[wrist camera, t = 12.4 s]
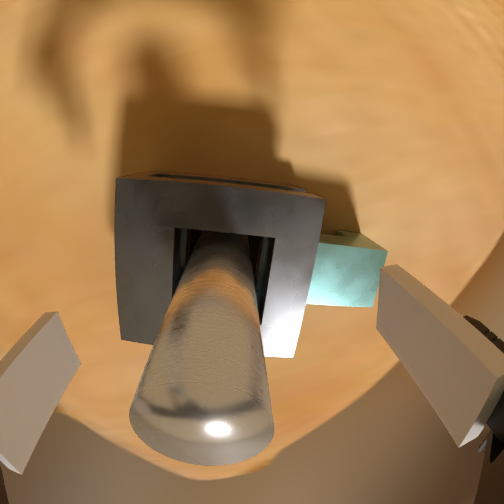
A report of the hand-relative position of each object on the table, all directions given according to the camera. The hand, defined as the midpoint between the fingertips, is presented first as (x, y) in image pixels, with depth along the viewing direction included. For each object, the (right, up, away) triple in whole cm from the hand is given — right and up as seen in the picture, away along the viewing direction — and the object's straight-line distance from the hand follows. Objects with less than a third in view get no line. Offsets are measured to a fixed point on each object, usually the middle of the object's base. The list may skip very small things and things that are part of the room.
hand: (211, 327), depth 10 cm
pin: (-1, +3, +11) cm, 11 cm away
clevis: (+2, +3, +11) cm, 12 cm away
